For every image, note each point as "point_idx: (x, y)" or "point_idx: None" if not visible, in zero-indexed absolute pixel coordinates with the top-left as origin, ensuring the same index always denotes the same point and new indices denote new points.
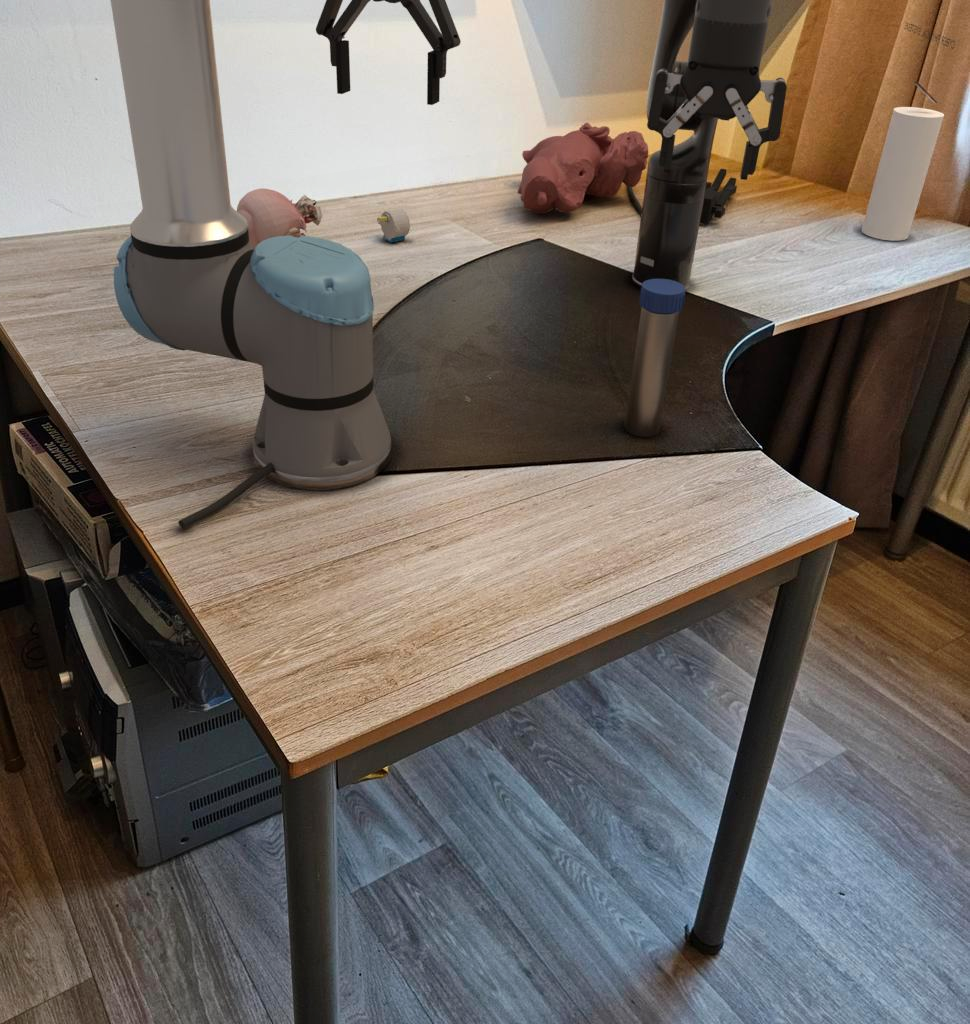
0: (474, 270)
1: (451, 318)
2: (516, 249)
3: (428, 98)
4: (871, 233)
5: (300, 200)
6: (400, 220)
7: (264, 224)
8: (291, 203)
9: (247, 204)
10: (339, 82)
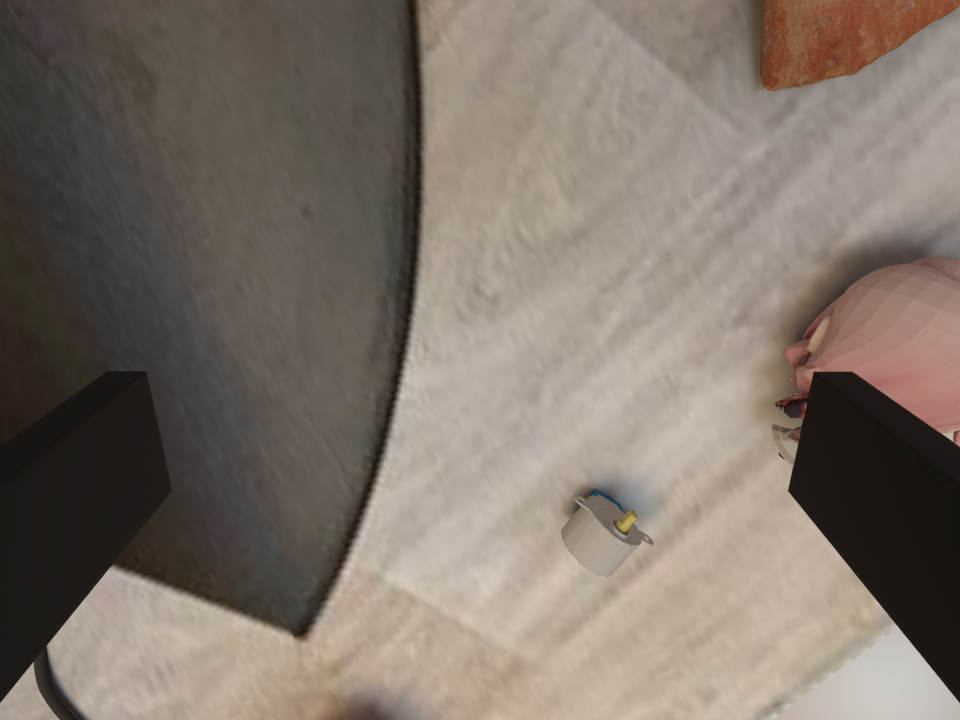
0: (348, 414)
1: (259, 97)
2: (320, 565)
3: (115, 388)
4: None
5: None
6: (582, 530)
7: (904, 273)
8: None
9: None
10: (876, 406)
